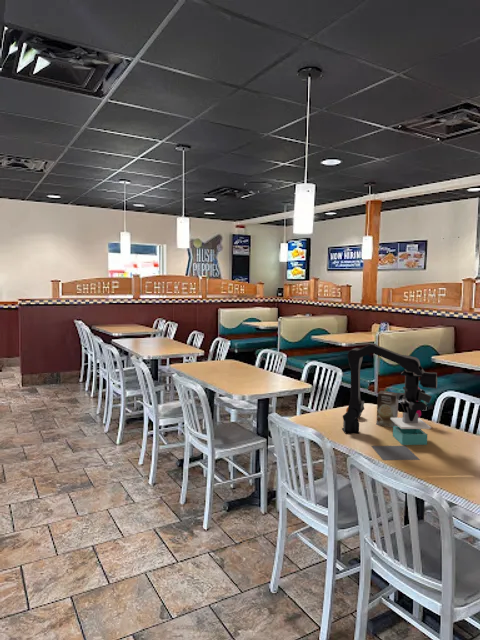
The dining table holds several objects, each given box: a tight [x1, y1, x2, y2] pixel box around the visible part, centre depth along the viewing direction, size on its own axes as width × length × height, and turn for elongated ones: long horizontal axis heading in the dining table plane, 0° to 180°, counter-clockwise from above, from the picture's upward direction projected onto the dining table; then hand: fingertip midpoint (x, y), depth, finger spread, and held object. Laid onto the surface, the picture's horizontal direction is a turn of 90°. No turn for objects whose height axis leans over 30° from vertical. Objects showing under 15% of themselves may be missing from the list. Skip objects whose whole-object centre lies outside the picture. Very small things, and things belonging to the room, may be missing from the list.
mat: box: [371, 445, 421, 461], centre depth 188 cm, size 15×15×1 cm
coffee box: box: [376, 390, 399, 428], centre depth 224 cm, size 9×6×16 cm
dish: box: [392, 425, 428, 446], centre depth 202 cm, size 11×11×5 cm
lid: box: [390, 412, 432, 430], centre depth 201 cm, size 13×13×5 cm
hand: (410, 420), depth 201 cm, fingers closed on lid, 2 cm apart
